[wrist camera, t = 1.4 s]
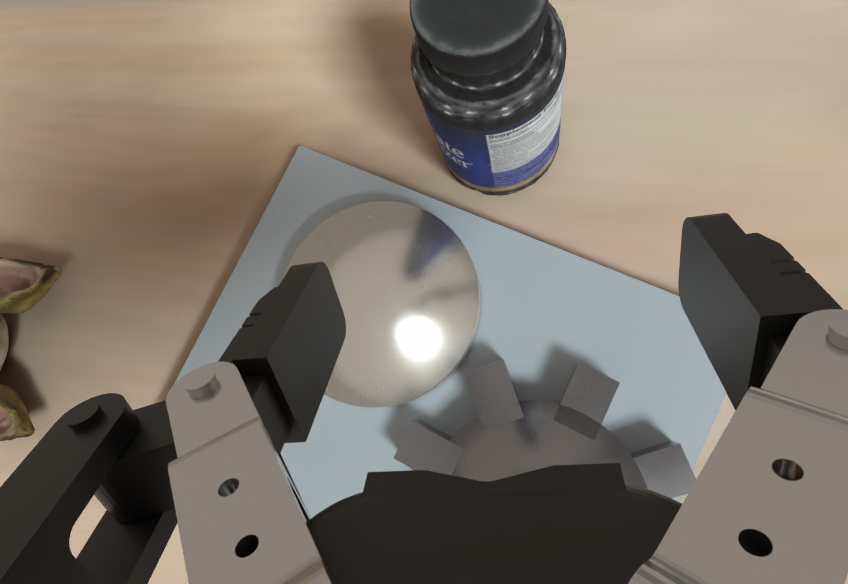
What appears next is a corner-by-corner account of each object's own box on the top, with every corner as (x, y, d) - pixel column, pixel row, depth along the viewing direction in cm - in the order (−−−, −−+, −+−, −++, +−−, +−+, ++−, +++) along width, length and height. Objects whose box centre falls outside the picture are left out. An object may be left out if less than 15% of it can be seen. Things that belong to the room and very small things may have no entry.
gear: (743, 442, 21) (771, 448, 19) (619, 739, 20) (630, 788, 18) (468, 316, 25) (459, 306, 22) (350, 563, 24) (326, 583, 21)
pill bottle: (426, 128, 29) (360, -26, 19) (524, 73, 28) (514, -119, 18) (476, 219, 27) (434, 107, 17) (581, 163, 27) (607, 9, 16)
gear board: (741, 330, 24) (754, 326, 22) (587, 691, 22) (590, 711, 21) (310, 157, 30) (299, 145, 29) (171, 424, 29) (151, 426, 27)
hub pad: (516, 253, 25) (515, 246, 24) (425, 445, 24) (419, 447, 23) (343, 182, 28) (335, 173, 27) (256, 352, 27) (244, 349, 26)
